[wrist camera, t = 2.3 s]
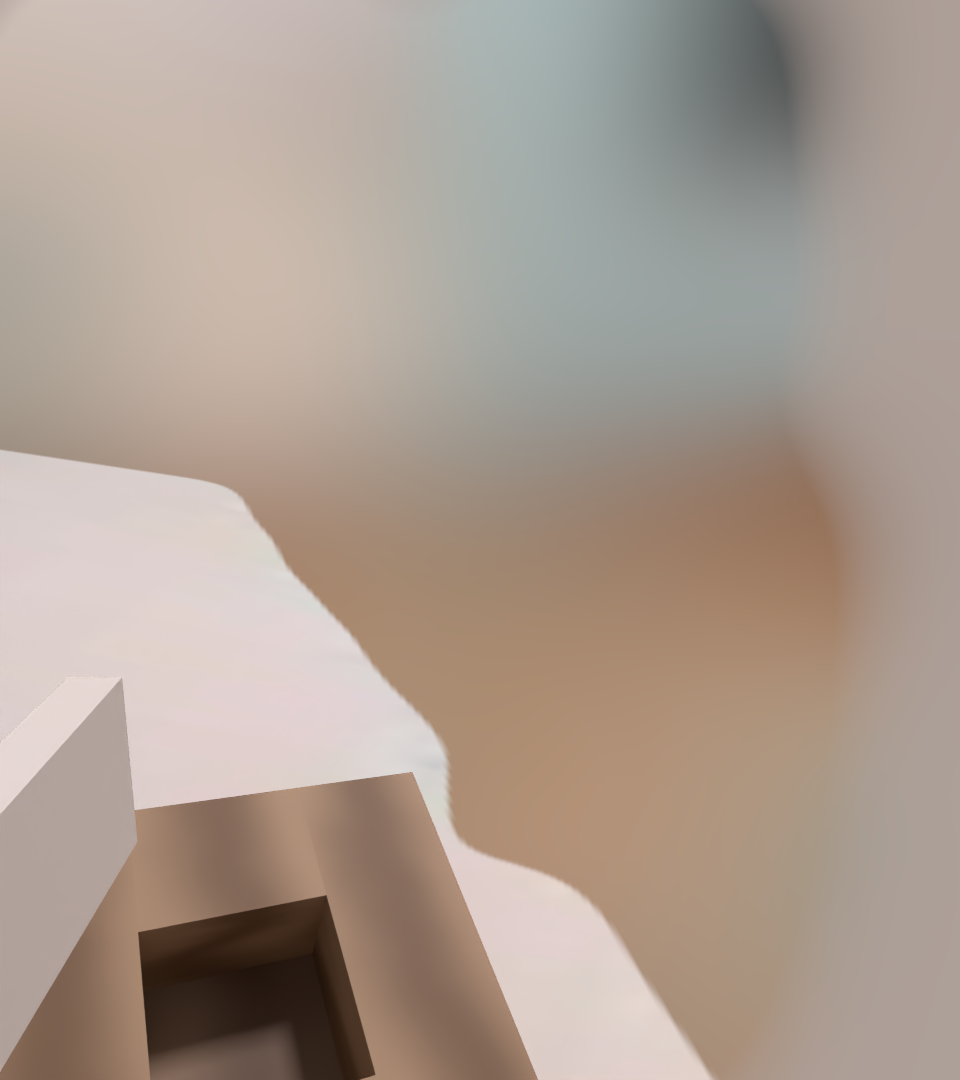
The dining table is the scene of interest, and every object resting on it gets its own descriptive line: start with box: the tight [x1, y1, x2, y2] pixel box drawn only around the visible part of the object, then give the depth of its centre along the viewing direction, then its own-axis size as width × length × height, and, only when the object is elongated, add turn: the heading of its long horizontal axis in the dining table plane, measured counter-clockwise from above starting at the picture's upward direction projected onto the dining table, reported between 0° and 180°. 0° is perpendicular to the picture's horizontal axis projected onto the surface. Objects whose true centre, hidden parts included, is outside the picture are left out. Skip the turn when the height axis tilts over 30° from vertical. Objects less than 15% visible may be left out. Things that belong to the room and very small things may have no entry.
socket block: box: [0, 772, 538, 1080], centre depth 31 cm, size 18×18×5 cm
